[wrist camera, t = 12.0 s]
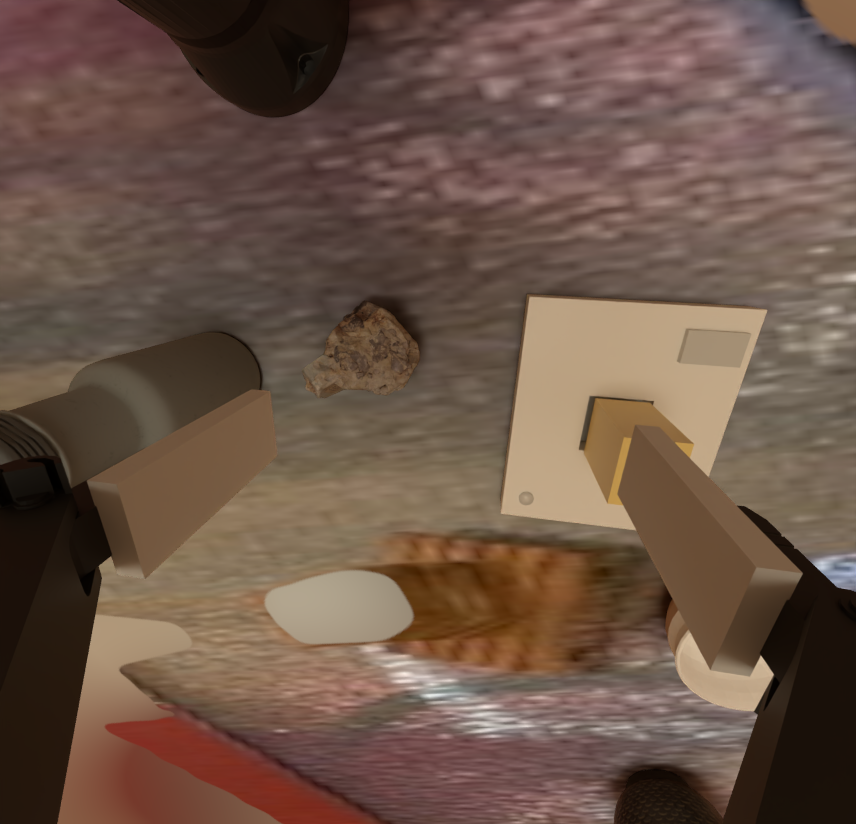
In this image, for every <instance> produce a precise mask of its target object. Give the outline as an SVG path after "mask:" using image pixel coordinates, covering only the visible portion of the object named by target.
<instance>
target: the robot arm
mask: <svg viewBox="0 0 856 824" xmlns="http://www.w3.org/2000/svg"><path fill="white" fill-rule="evenodd" d="M117 1H119V2H120V3H122V4H124V5H125V6H127V7H128V8H130V9H131V10H133V11H134V12H136V13H137V14H139V15H140V16H142V17H143V18H145V19H146V20H148V21H149V22H151V23H152V24H154V25H155V26H157V27H158V28H160V29H162V30H163V31H164V32H166V33H167V34H168V35H169V36H170V38H171V39H172V40H173V41H174V43H175V44H176V45H177V46H179V47H180V49H181V51H182V53H183V54H184V56H185V57H186V59H187V61H188V62H189V63H190V65H191V66H192V68H193V69H194V70H195V72H196V73H197V74H198V75H199V77H200V78H201V79H202V80H203V81H204V82H205V83H206V84H207V85H208V86H209V87H210V88H211V89H213V90H214V91H215V92H216V93H217V94H219V95H220V96H221V97H223V98H224V99H226V100H228V101H229V102H231V103H233V104H234V105H236V106H238V107H239V108H241V109H243V110H245V111H247V112H250V113H253V114H256V115H260V116H265V117H281V116H286V115H290V114H293V113H296V112H298V111H300V110H302V109H304V108H305V107H307V106H308V105H310V104H311V103H312V102H314V101H315V100H316V99H317V98H318V97H319V96H320V95H321V94H322V92H323V91H324V90H325V89H326V87H327V86H328V85H329V83H330V82H331V80H332V78H333V76H334V74H335V73H336V70H337V68H338V66H339V63H340V61H341V58H342V55H343V51H344V48H345V43H346V38H347V31H348V20H349V4H348V0H117ZM277 456H278V455H277V447H276V438H275V429H274V420H273V412H272V403H271V394H270V391H263V390H253V389H251V390H249V391H247V392H246V393H244V394H242V395H240V396H238V397H237V398H235V399H233V400H231V401H229V402H228V403H226V404H224V405H222V406H220V407H219V408H217V409H215V410H213V411H211V412H210V413H208V414H206V415H204V416H202V417H200V418H199V419H197V420H195V421H193V422H191V423H190V424H188V425H186V426H184V427H182V428H181V429H179V430H177V431H175V432H173V433H172V434H170V435H168V436H166V437H164V438H163V439H161V440H159V441H157V442H155V443H154V444H152V445H150V446H148V447H146V448H144V449H142V450H140V451H138V452H136V453H135V454H133V455H131V456H129V457H128V458H126V459H124V460H122V461H120V462H118V463H116V464H115V465H114V466H111V467H109V468H107V469H106V470H104V471H102V472H100V473H98V474H97V475H95V476H93V477H91V478H89V479H87V480H86V481H84V482H82V483H80V484H78V485H77V486H75V487H73V488H71V486H70V483H69V480H68V478H67V475H66V472H65V469H64V466H63V463H62V460H61V458H59V457H56V456H47V455H43V456H33V457H27V458H22V459H18V460H14V461H11V462H8V463H5V464H2V465H0V824H57V822H58V817H59V811H60V806H61V800H62V794H63V789H64V784H65V778H66V772H67V767H68V761H69V756H70V751H71V745H72V739H73V734H74V728H75V723H76V718H77V712H78V707H79V701H80V695H81V690H82V685H83V679H84V674H85V668H86V663H87V657H88V652H89V646H90V641H91V634H92V629H93V624H94V619H95V613H96V608H97V602H98V597H99V591H100V586H101V580H102V577H101V573H100V570H99V567H98V566H99V565H100V564H101V563H103V562H104V561H105V560H107V559H108V558H109V557H110V556H111V557H112V560H113V563H114V566H115V569H116V572H117V575H122V576H128V577H134V578H140V579H146V578H147V577H148V576H149V575H150V574H151V573H152V572H153V571H154V570H155V569H156V568H157V567H158V566H159V565H161V564H162V563H163V562H164V561H165V560H166V559H167V558H168V557H169V556H170V555H171V554H172V553H173V552H175V551H176V550H177V549H178V548H179V547H180V546H181V545H182V544H183V543H184V542H185V541H186V540H187V539H189V538H190V537H191V536H192V535H193V534H194V533H195V532H196V531H197V530H198V529H199V528H200V527H201V526H202V525H204V524H205V523H206V522H207V521H208V520H209V519H210V518H211V517H212V516H213V515H214V514H215V513H216V512H218V511H219V510H220V509H221V508H222V507H223V506H224V505H225V504H226V503H227V502H228V501H229V500H230V499H231V498H233V497H234V496H235V495H236V494H237V493H238V492H239V491H240V490H241V489H242V488H243V487H244V486H245V485H247V484H248V483H249V482H250V481H251V480H252V479H253V478H254V477H255V476H256V475H257V474H258V473H259V472H260V471H262V470H263V469H264V468H265V467H266V466H267V465H268V464H269V463H270V462H271V461H272V460H273V459H274V458H276V457H277ZM617 495H618V496H619V498H620V500H621V502H622V504H623V506H624V508H625V510H626V512H627V513H628V515H629V517H630V519H631V521H632V523H633V525H634V527H635V529H636V531H637V532H638V534H639V536H640V538H641V540H642V542H643V544H644V546H645V548H646V550H647V551H648V553H649V555H650V557H651V559H652V561H653V563H654V565H655V567H656V568H657V570H658V572H659V574H660V576H661V578H662V580H663V582H664V584H665V586H666V587H667V589H668V591H669V593H670V595H671V597H672V599H673V601H674V603H675V605H676V606H677V608H678V610H679V612H680V614H681V616H682V618H683V620H684V622H685V623H686V625H687V627H688V629H689V631H690V633H691V635H692V637H693V639H694V641H695V642H696V644H697V646H698V648H699V650H700V652H701V654H702V656H703V658H704V660H705V661H706V663H707V665H708V667H709V669H710V670H711V671H717V672H724V673H730V674H736V675H742V676H748V677H750V676H751V674H752V672H753V670H754V668H755V666H756V664H757V662H758V660H759V658H760V656H762V658H763V659H764V661H765V662H766V664H767V665H768V667H769V668H770V670H771V671H772V672H773V674H774V675H773V677H772V679H771V681H770V683H769V685H768V686H767V688H766V690H765V692H764V694H763V696H762V698H761V699H760V701H759V703H758V705H757V707H756V709H755V710H754V712H755V713H757V714H758V716H757V719H756V722H755V725H754V728H753V731H752V734H751V737H750V740H749V743H748V746H747V749H746V752H745V755H744V758H743V761H742V764H741V767H740V770H739V773H738V776H737V779H736V782H735V785H734V788H733V791H732V794H731V797H730V800H729V803H728V806H727V809H726V812H725V815H724V818H723V821H722V824H856V592H854V591H852V590H847V589H842V588H837V587H836V586H835V585H834V584H833V583H832V582H831V581H830V580H829V579H828V578H827V577H826V576H825V575H824V574H823V573H822V572H820V571H819V570H818V569H817V568H816V567H815V566H814V565H813V564H812V563H811V562H810V561H809V560H808V559H807V558H806V557H805V556H804V555H803V554H802V553H801V552H800V551H799V550H798V549H794V546H793V545H792V544H791V543H790V542H789V541H788V540H787V539H786V538H785V537H782V536H781V533H780V532H779V531H778V530H777V529H776V528H775V527H774V526H773V525H771V524H770V523H769V522H768V521H767V520H766V519H765V518H763V517H761V516H760V515H758V514H756V513H755V512H753V511H752V510H750V509H748V508H747V507H745V506H736V505H735V504H734V503H733V502H732V501H731V500H730V499H729V497H728V496H727V495H726V494H725V493H724V492H723V491H722V490H721V489H720V488H719V487H718V486H717V485H716V484H715V483H714V482H713V481H712V480H711V479H710V478H709V477H708V476H707V475H706V474H705V473H704V472H703V471H702V470H701V469H700V468H699V467H698V466H697V465H696V464H695V463H694V462H693V461H692V460H691V459H690V458H689V457H688V456H687V455H686V454H685V453H684V452H683V451H682V450H681V449H680V448H679V447H678V445H677V444H676V443H675V442H674V441H673V440H672V439H671V438H670V437H669V436H668V435H667V434H666V433H665V432H664V431H663V430H662V429H661V428H660V427H655V426H645V425H635V427H634V431H633V435H632V439H631V443H630V447H629V450H628V454H627V458H626V462H625V466H624V470H623V474H622V478H621V481H620V485H619V489H618V493H617Z"/></svg>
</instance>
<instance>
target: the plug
mask: <svg viewBox="0 0 856 824" xmlns="http://www.w3.org/2000/svg"><path fill="white" fill-rule="evenodd" d="M635 425H645V426H655V427H660V428H661V429H662V430H663V431H664V432H665V433H666V434H667V435H668V436H669V437H670V438H671V439H672V440H673V441H674V442H675V443H676V444H677V445H678V447H679V448H680V449H681V450H682V451H683V452H684V453H685V454H686V455H687V456H688V457H689V458H690V456H691V453H692V450H693V447H694V443H693V442H692V441H690V440H689V439H688V438H687V437H686V436H685V435H684V434H683V433H682V432H681V431H680V430H679V429H678V428H676V427H675V426H674V425H673V424H672V423H671V422H670V421H669V420H668V419H667V418H666V417H665V416H664V415H662V414H661V413H660V412H659V411H658V410H657V409H656V408H655V407H654V406H653V405H652V404H651V403H646V402H634V401H623V400H611V399H599V398H595V402H594V407H593V412H592V416H591V421H590V426H589V431H588V435H587V440H586V445H585V449H584V455H585V457H586V459H587V461H588V463H589V465H590V468H591V470H592V472H593V474H594V476H595V478H596V480H597V483H598V485H599V487H600V489H601V491H602V493H603V495H604V498H605V500H606V502H607V504H615V505H623V504H622V502H621V500H620V498H619V496H618V495H617V493H618V489H619V485H620V481H621V478H622V474H623V470H624V466H625V462H626V458H627V454H628V450H629V447H630V443H631V439H632V435H633V431H634V427H635Z"/></svg>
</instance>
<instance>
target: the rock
mask: <svg viewBox="0 0 856 824" xmlns="http://www.w3.org/2000/svg"><path fill="white" fill-rule="evenodd" d="M419 358H420V352H419V349H418V344H417V342H416V341H415V340H413V339H412V338H411V336H410V335H409V333H408V332H407V331H406V330H405V329H404V328H403V326H402V325H401V324H400V323H399V322H398V321H397V320H396V318H395V316H394V315H392V314H391V313H390V312H389V310H386V309H384V308H382V307H379V306H377V305H374V304H372V303H370V302H367V301H363V302H362V303H361V304H360V305H359V306H357V307H356V308H355V309H354V310H353V312H352V313H351V314H348V315H346V316H345V317H344V318H343V321H342V322H340V323H339V324H338V326H337V327H336V328H335V329H334V330H333V331H332V332H331V334H330V335H329V337H328V339H327V340H326V349H325V352H324V355H322V356H320V357H319V358H318V359H316V360H315V361H314V362H312V363H310V364H309V365H308V366H306V367H305V368H304V369H302V372H303V374H304V375H303V376H304V379H305V381H306V382H307V383H306V386H305V387H306V389H307V390H308V391H311V392H313V393H315V395H316V396H317V398H321V397H322V398H327V397H329V396H331V395H333V394H336V393H338V392H340V391H342V390H343V389H344V390H346V389H348V390H351V389H352V390H368V391H371V390H372V391H373V392H374V393H375V394H377V395H380V394H382V395H389V394H390V393H392V392H393V391H395V390H396V391H398V390H400V389H402V388H404V387H405V384H406V383H407V382H408V380H409V377H410V376H411V374H412V372H413V370H414V368H415V367H416V366H417V364H418V362H419Z"/></svg>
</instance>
